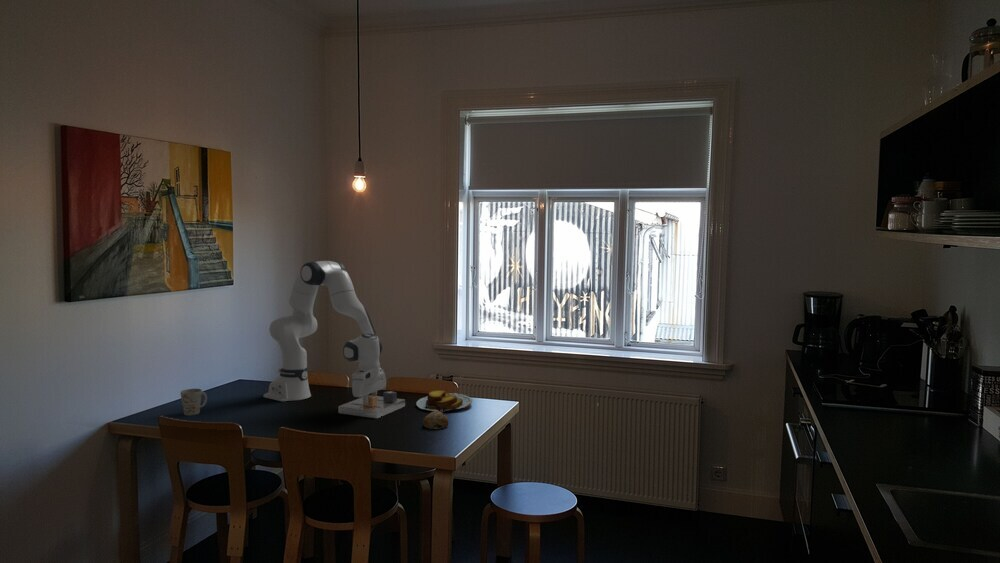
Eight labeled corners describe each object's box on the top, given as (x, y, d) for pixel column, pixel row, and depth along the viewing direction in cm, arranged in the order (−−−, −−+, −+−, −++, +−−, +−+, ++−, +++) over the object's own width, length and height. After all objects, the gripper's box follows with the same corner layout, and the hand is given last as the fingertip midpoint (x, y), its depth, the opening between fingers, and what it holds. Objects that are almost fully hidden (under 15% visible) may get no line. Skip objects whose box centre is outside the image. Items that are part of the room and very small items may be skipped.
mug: (176, 415, 284) (175, 392, 283) (199, 407, 296) (198, 385, 295) (191, 417, 281) (191, 393, 280) (214, 409, 293) (213, 387, 292)
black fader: (383, 401, 295) (383, 392, 295) (387, 399, 298) (387, 390, 298) (392, 402, 293) (392, 393, 293) (396, 401, 296) (396, 392, 296)
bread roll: (426, 438, 265) (428, 423, 261) (419, 421, 273) (421, 406, 269) (449, 435, 269) (452, 420, 265) (442, 418, 277) (444, 403, 273)
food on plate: (481, 410, 295) (481, 395, 294) (428, 417, 283) (428, 402, 283) (458, 397, 317) (458, 383, 317) (408, 403, 306) (408, 389, 305)
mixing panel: (338, 413, 288) (338, 406, 288) (368, 401, 308) (368, 394, 308) (376, 418, 280) (376, 411, 279) (405, 406, 300) (405, 399, 299)
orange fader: (363, 405, 288) (363, 396, 287) (367, 404, 290) (367, 395, 290) (372, 407, 286) (372, 397, 285) (376, 405, 288) (376, 396, 288)
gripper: (377, 366, 298) (377, 396, 299) (349, 375, 279) (349, 407, 280) (389, 367, 295) (389, 398, 296) (361, 376, 276) (362, 409, 277)
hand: (370, 402), depth 288 cm, fingers closed on orange fader, 3 cm apart
